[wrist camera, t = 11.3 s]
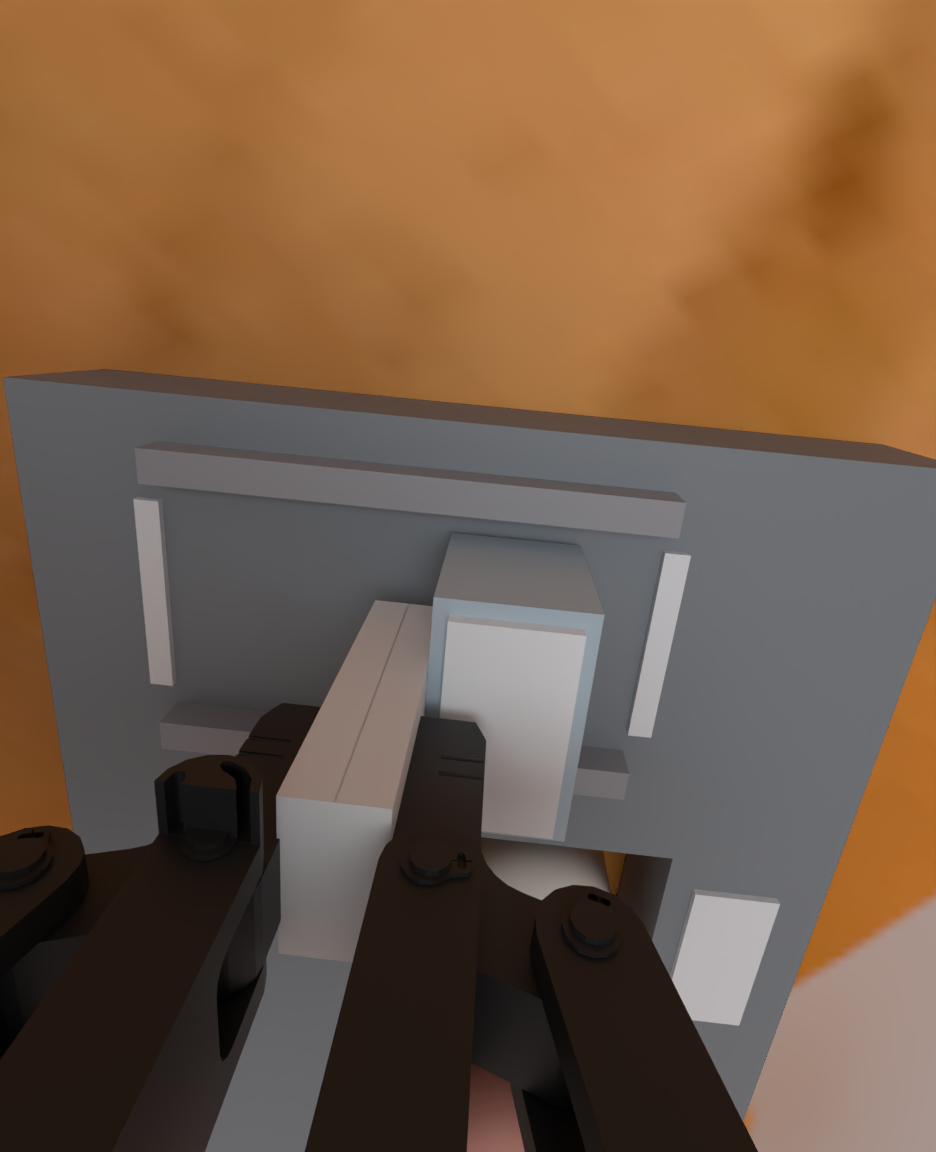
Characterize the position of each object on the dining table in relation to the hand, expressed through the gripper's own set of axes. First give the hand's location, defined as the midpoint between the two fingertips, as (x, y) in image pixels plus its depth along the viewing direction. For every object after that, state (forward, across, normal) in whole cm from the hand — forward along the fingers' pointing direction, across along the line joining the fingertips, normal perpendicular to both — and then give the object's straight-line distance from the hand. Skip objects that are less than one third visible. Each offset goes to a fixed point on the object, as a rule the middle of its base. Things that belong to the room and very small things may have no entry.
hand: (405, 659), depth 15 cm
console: (+6, +1, -9) cm, 11 cm away
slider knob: (+2, +2, 0) cm, 3 cm away
